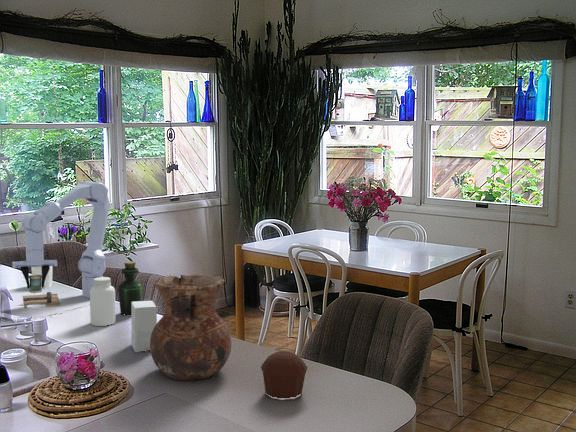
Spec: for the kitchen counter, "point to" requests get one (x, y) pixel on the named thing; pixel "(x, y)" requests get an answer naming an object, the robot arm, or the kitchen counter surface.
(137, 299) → the potion bottle
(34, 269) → the white cup
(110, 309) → the pill bottle
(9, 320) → the kitchen counter surface
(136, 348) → the small box
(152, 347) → the jug
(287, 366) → the muffin
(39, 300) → the hook board
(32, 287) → the spool
